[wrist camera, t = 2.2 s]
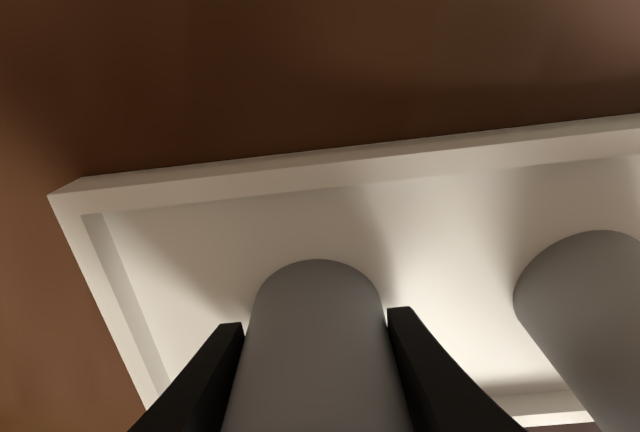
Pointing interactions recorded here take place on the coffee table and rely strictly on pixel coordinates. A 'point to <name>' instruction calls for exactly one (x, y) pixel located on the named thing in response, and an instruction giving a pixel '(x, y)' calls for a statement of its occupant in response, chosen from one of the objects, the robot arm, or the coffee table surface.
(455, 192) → the parts tray
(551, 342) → the pebble
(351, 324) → the pebble
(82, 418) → the coffee table surface
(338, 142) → the coffee table surface
